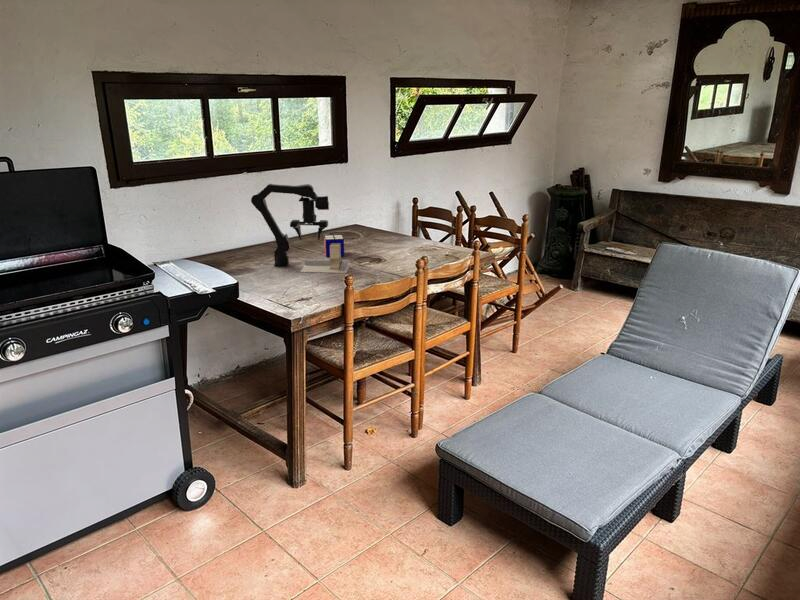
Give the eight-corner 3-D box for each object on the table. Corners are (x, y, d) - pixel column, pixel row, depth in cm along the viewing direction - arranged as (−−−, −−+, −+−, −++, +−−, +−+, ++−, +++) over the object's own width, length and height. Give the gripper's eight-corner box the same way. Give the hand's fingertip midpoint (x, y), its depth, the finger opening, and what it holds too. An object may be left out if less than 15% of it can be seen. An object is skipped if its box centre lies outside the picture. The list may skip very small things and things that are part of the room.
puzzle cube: (326, 257, 329) (325, 239, 326) (324, 253, 338) (324, 235, 335) (344, 256, 331) (344, 238, 328) (342, 252, 340) (342, 234, 337)
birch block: (339, 269, 304) (338, 246, 300) (330, 269, 304) (329, 246, 300) (341, 266, 309) (340, 243, 306) (332, 266, 310) (331, 243, 306)
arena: (300, 272, 300) (300, 266, 299) (305, 265, 313) (305, 259, 312) (346, 273, 299) (346, 267, 298) (349, 265, 312) (349, 260, 311)
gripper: (329, 207, 312) (330, 237, 317) (293, 207, 313) (295, 236, 318) (325, 211, 302) (326, 241, 307) (288, 210, 303) (290, 241, 307)
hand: (309, 240), depth 310 cm, fingers open, 9 cm apart
